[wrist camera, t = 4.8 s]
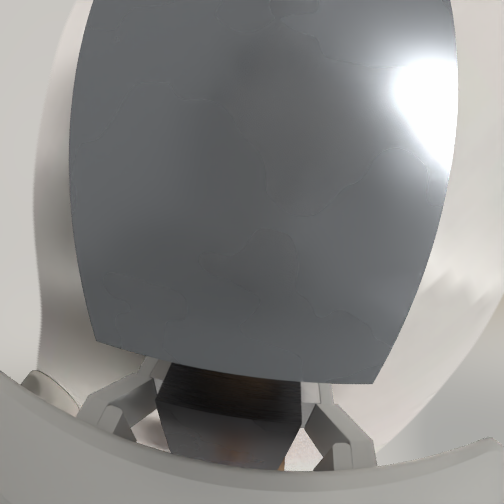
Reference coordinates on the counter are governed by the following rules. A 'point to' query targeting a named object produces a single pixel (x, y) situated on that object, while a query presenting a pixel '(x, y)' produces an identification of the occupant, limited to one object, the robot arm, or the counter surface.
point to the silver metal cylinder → (50, 392)
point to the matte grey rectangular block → (260, 178)
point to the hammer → (229, 416)
